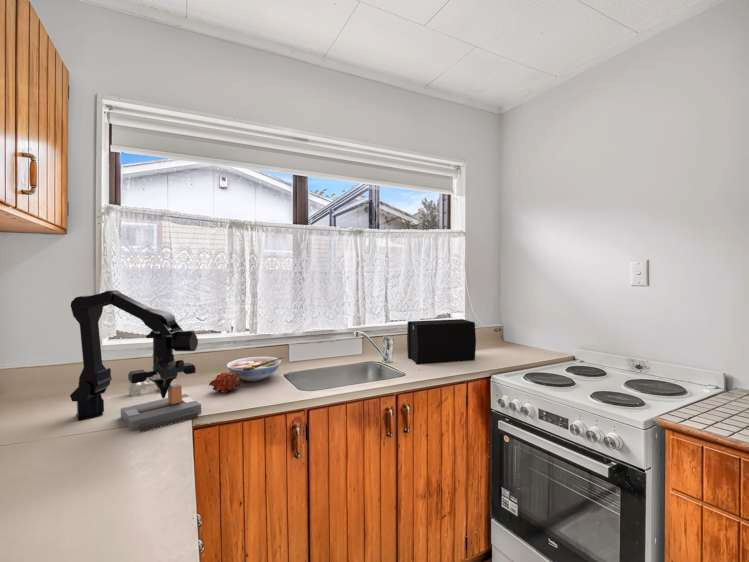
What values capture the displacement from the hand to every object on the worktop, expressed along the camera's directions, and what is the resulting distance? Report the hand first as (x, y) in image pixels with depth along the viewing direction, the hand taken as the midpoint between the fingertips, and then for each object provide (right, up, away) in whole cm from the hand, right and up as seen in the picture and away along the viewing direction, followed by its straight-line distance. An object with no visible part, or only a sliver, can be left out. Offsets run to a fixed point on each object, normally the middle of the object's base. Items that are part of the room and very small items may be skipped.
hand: (163, 398), depth 123 cm
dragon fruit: (+11, -5, +24) cm, 27 cm away
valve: (-20, -5, +23) cm, 31 cm away
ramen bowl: (+17, -5, +40) cm, 44 cm away
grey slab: (0, -6, 0) cm, 6 cm away
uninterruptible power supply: (+106, -3, +74) cm, 130 cm away
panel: (0, -6, 0) cm, 6 cm away
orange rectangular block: (+3, -2, +3) cm, 4 cm away
